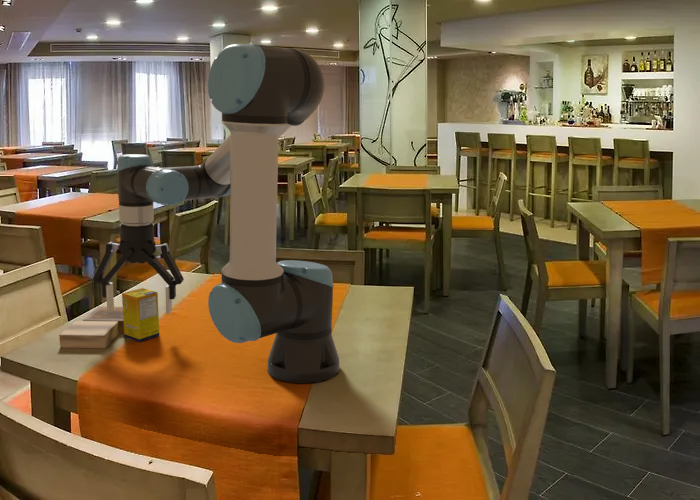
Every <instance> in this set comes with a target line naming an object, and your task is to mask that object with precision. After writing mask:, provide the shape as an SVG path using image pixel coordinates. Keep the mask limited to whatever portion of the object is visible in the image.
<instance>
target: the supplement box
mask: <svg viewBox="0 0 700 500" xmlns="http://www.w3.org/2000/svg"><path fill="white" fill-rule="evenodd" d="M158 294H159V293H158V292H157V291H154V290H152V289H148V288H144V287H141V288H137V289H133V290H130V291H129V290H128V291H126V292H125V291H124V292H122V293H121V298H122V299H121V301H122V303H121V304H122V307H123V322H124V333H123V334H124V335H123V336H124V338H125V339H129V340H132V341H134V342H137V343H141V342H143V341H147V340H150V339H153V338H156V337H159V336H160V318H159V317H160V316H159V315H160V314H159V298H158V296H159V295H158Z"/></svg>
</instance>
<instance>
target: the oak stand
mask: <svg viewBox="0 0 700 500" xmlns="http://www.w3.org/2000/svg"><path fill="white" fill-rule="evenodd" d="M119 334H120V333H119V327H118V321H83V320H75V321H73V322H72V323H71V324H70V325H69V326H68V327H67V328H65V329H64V330H63V331H62V332H61V333H60V334H59V335H58V336H59V347H63V348H67V349H106V348H107V347H108V346H109V345H110V344H111V343H112V341H113V340H114V339H115V338H116V337H117V336H118V335H119Z"/></svg>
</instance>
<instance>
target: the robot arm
mask: <svg viewBox="0 0 700 500" xmlns="http://www.w3.org/2000/svg"><path fill="white" fill-rule="evenodd" d="M217 54H218V55H217V56H216V57H215V58H214V60H213V62H212V64H211V66H210V69H209V72H208V77H207V93H208V97H209V99H210V100H211V102H210V103H211V104H212V106H213V108H215V109H216V110H217V111H218V112H220V113H221V123H222V124H223V125H224V126H225V127H226V128H227V129H228V131H229V132H230V134H229V136H227V138H226V139H224V140H223V142H222V143H221V144H220V145H219V146H218V147H217V148H216V149H215V150H214V151H213V152H212V153H211V154H210V156H209V157H208V158H207V159H206V160H204V161H203V162H202V164H199V165H187V166H174V167H173V166H170V167H158V166H157V167H156V166H154V164H153V160H152V159H153V158H152V157H151V156H150V155H148V154H139V153H137V154H136V153H133V154H131V153H130V154H122V155H120V156H118V158H117V168H116V169H117V170H116V175H117V193H118V194H117V196H118V221H119V222H120V224H119V243H115V242H114V241H113V240H112V241H109V242H108V243H107V244H105V252H104V255H103V257H102V259H101V260H100V263H99V266H98V267H97V270H96V272H95V274H94V276H93V277H92V280H93V282H94V283H98V284H100V285H101V296H102V298H105V299H106V307H107V312H111V311H112V310H113V309H114V307H115V304H114V303H115V300H114V295H115V294H114V282H113V281H112V282H111V280H112V278H113V277H114V276H115V275H116V274H117V273H118V272H119V270H121V268H122V267H123V266H124V265H125V264H126V262H128V263H130V264H135V263H138V264H145V263H147V264H148V265H149V266H150V267H151V268H153V270H154V271H156V273H157V274H158V275H159V276H160V277H161V279H163V281H164V282H165V283H166V284H167V285H166V286H165V288H164V289H165V290H164V291H165V315H170V314H171V312H173V311H172V310H173V301H172V300H175V299H176V296H177V294H176V293H177V290H176V289H177V285H181V284H182V283H183V282H184V277H183V274H182V273H181V271H180V269H179V267H178V265H177V263H176V261H175V259H174V258H173V256H172V254H171V252H170V245H169V244H168V242H165V243H163V244H156V242H155V224H154V223H153V221H154V220H155V217H154V216H155V215H154V212H155V211H154V203H157V204H158V205H159V204H160V205H162V206H176V205H179V204H181V203H182V202H184V201H192V200H202V199H219V198H222V197H228V196H229V195H230V196H229V198H230V199H229V261H228V263H226V264H225V265H224V266H223V267H222V268H221V283H218V284H216V285H215V286H213V287H212V288H211V291H210V292H209V295H208V298H207V302H208V304H207V305H208V311H209V314H210V315H209V316H210V318H211V321H212V323H213V326H215V328H216V330H217V332H218V333H220V335H221V336H223V338H224V339H225V340H227V341H230V342H232V343H235V344H243V343H247V342H255V341H258V340H259V339H262V338H265V337H269V336H272V335H275V337H274V339H273V342H272V345H271V348H270V351H269V355H268V357H267V373H268V374H269V375H270V376H271V377H272V378H274V379H276V380H279V381H283V382H286V383H293V384H310V383H309V382H315V383H319V382H318V381H321V382H323V381H322V380H325V379H328V380H330V379H332V378H334V377H335V376H337V375H338V374H337V373H339V372H340V357H339V353H338V350H337V347H336V344H335V341H334V338H333V332H332V331H333V329H332V326H333V300H334V298H333V296H334V295H333V293H334V287H335V286H334V283H333V272H332V269H331V268H329V266H327V265H325V264H322V263H317V262H313V261H306V260H305V261H304V260H293V259H292V260H287V259H286V260H280V261H278V262H277V261H276V260H277V222H278V221H277V219H278V216H277V215H278V178H279V177H278V175H279V139H280V137H282V136H283V135H284V134H285V133H286V132H287V131H288V130H289V129H290V128H291V127H298V126H300V125H302V124H304V123H305V121H306V120H307V119H308V118H310V116H311V115H313V113H314V112H315V111H316V109H318V107H319V105H320V104H321V102H322V99H323V96H324V94H325V93H324V92H325V78H324V74H323V71H322V68H321V66H320V65H319V64H318V61H316V59H314V57H313V56H311V55H310V54H309V53H307V52H305V51H303V50H300V49H296V48H291V47H290V48H289V47H288V48H285V47H277V46H268V45H262V44H261V45H260V44H254V43H236V44H234V43H233V44H230V45H227V46H225V47H224V48H223V49H222V50H220V51H219V52H218V53H217ZM117 250H118V251H119V252H120V253H121V255H122V257H120V259H119V260H118V261H117V262H116V263H115V264H114V265H113V267H112V268H111V269H110V270H109V272H107V274H106V275H105V276H103V275H104V274H105V271H106V269H107V267H108V265H109V264H110V261H111V260H112V257H113V255H114V253H116V252H117ZM156 251H157V252H159V255H161V257H162V258H163V260H164V262H165V264H166V266H167V268H168V269H169V271H170V272H169V271H168V270H167V269H166V268H165V266H164V265H163V264H162V263H161V262H160V261H159V259H158V257H157V256H156V255H155V252H156ZM336 374H337V375H336ZM333 376H334V377H333ZM331 377H332V378H331ZM329 378H330V379H329ZM325 381H326V380H325Z"/></svg>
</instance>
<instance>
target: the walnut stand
mask: <svg viewBox="0 0 700 500" xmlns="http://www.w3.org/2000/svg"><path fill="white" fill-rule="evenodd" d="M82 321H118V327H119V334H120V333H121V334H122V333H123V334H124V322H123V306H114V309H113V310H112V311H111V312H107V306H97V307H96V308H95V309H94V310H93V311H92V312H90V313H89V314H88V315H87V316H86V317H85V318H84V319H83V320H82Z"/></svg>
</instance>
